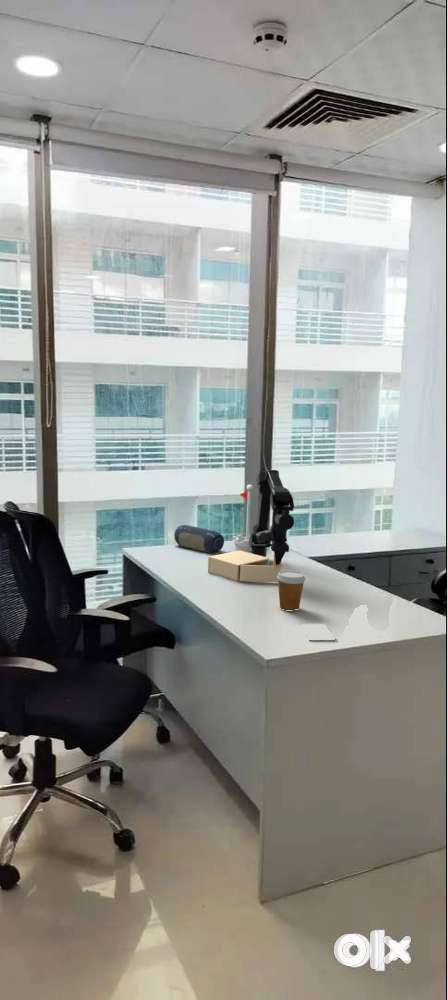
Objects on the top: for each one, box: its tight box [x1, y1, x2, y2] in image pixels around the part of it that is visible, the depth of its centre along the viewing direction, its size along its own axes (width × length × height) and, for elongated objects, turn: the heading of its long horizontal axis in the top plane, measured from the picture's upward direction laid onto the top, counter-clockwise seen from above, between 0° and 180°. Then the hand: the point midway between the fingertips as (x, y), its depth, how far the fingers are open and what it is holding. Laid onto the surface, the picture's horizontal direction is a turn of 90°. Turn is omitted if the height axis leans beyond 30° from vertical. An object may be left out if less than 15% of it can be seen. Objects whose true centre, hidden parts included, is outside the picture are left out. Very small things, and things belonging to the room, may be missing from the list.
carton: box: [207, 550, 270, 583], centre depth 260 cm, size 18×16×6 cm
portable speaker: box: [173, 524, 225, 554], centre depth 298 cm, size 25×10×10 cm, turn 51°
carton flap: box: [239, 554, 283, 583], centre depth 248 cm, size 16×1×11 cm, turn 91°
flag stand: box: [232, 484, 254, 553], centre depth 301 cm, size 13×13×30 cm
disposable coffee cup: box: [277, 570, 306, 611], centre depth 219 cm, size 10×10×12 cm
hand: (277, 564), depth 248 cm, fingers closed
